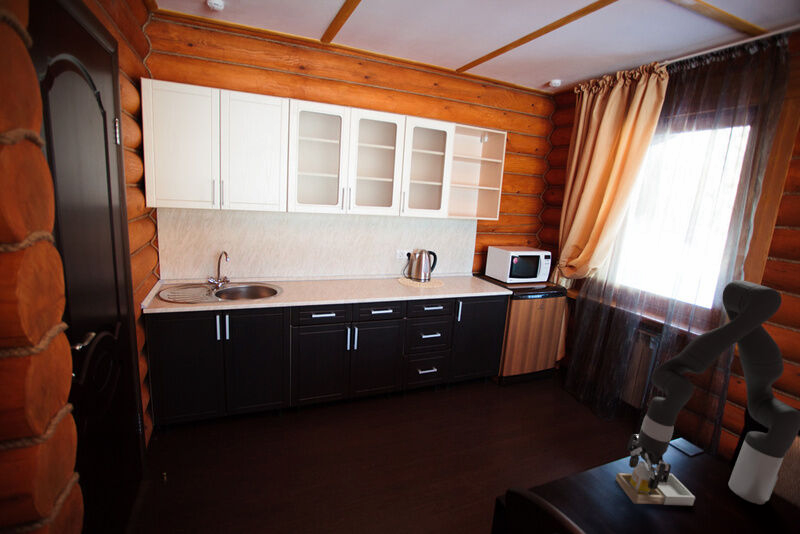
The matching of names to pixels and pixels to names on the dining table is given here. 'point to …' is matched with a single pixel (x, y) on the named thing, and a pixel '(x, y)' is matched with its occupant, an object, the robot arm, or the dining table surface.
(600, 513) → the dining table surface
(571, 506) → the dining table surface
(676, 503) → the tray
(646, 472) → the supplement bottle
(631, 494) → the wooden frame
